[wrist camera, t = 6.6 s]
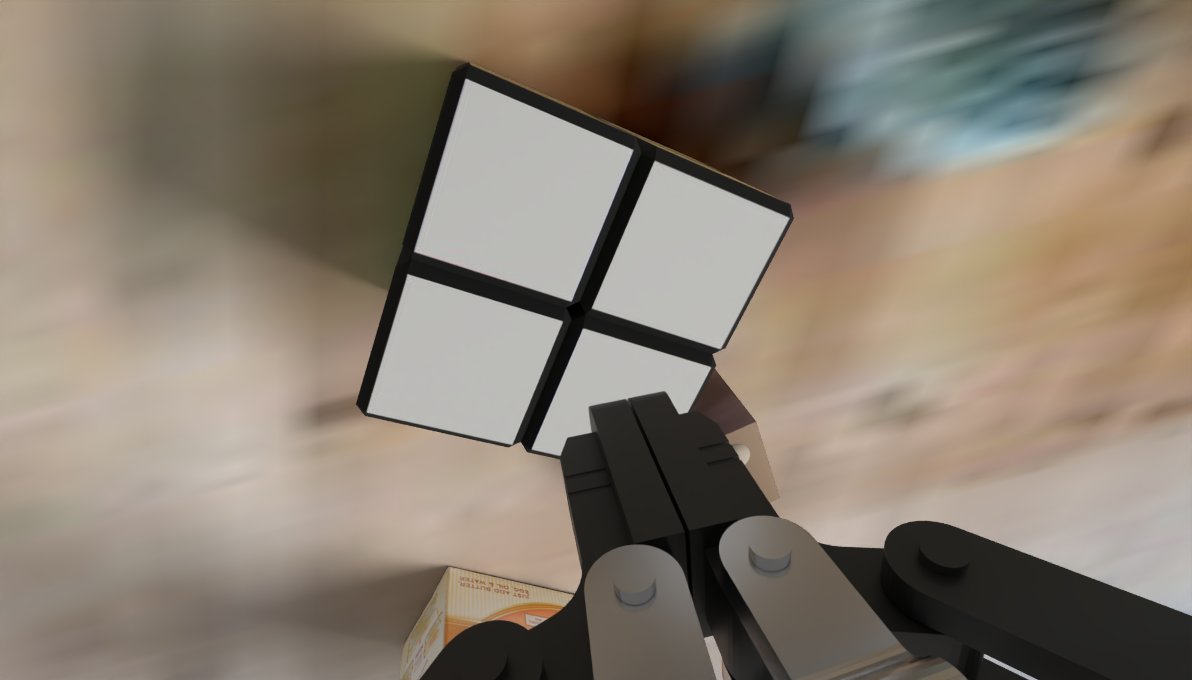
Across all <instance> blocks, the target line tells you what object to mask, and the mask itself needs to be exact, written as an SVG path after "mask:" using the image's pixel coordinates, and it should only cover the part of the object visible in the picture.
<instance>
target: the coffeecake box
mask: <svg viewBox="0 0 1192 680" xmlns="http://www.w3.org/2000/svg"><path fill="white" fill-rule="evenodd" d="M573 596H574V595H572V594H568V593H563V592H559V591H554V590H550V589H546V588H541V587H537V586H532V585H528V584H524V583H519V582H515V581H510V580H506V579H502V578H497V577H493V576H488V575H484V574H479V573H475V572H471V571H466V570H462V569H458V568H454V567H448V568H447V570H446V571H445V573H444V575H443V577H442V579H441V580H440V582H439V584H438V586H437V588H436V590H435V591H434V594H433V596H432V598H431V600H430V601H429V603H428V605H427V606H426V608H425V609H424V611H423V613H422V615H421V616H420V618H419V620H418V621H417V623H416V625H415V626H414V628H413V630H412V632H411V633H410V635H409V637H408V639H407V641H406V642H405V644H404V647H403V652H402V659H401V667H400V675H399V680H419V679H420V678H421V677H422V675H423V674H424V673H425V671H426V670H427V669H428V668H429V666H430V665H431V664H432V662H433V661H434V660H435V658H436V657H437V656H438V654H439V653H440V652H441V651H442V649H443V648H444V647H445V646H446V645H447V644H448V643H449V642H450V641H451V640H452V639H453V638H454V637H455V636H456V635H458V634H459V633H461V632H462V631H464V630H465V629H467V628H469V627H471V626H473V625H476V624H479V623H482V622H486V621H491V620H505V621H511V622H514V623H517V624H519V625H521V626H523V627H525V628H526V629H527V630H529V629H531V628H533V627H534V626H536V625H538V624H540V623H541V622H543V621H545V620H547V619H548V618H550V617H551V616H553V615H554V614H556V613H557V612H559V611H560V610H561V609H562V608H563V607H564V606H566V604H567V603H568V602H569V601H570V600H571V599H572V597H573Z"/></svg>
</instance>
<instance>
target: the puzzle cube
mask: <svg viewBox="0 0 1192 680" xmlns="http://www.w3.org/2000/svg"><path fill="white" fill-rule="evenodd" d="M793 219H794V217H793V213H792V209H791V205H790V204H789V203H786V202H784V201H782V200H780V199H778V198H776V197H773V196H771V195H769V194H767V193H765V192H763V191H760V190H758V189H756V188H754V187H752V186H750V185H747V184H745V183H743V182H741V181H739V180H737V179H734V178H732V177H730V176H728V175H725V174H724V173H723V172H721V171H718V170H716V169H714V168H712V167H710V166H708V165H705V164H703V163H701V162H699V161H697V160H695V159H692V158H690V157H688V156H686V155H684V154H681V153H679V152H677V151H674V150H672V149H670V148H667V147H665V146H663V145H661V144H658V143H656V142H654V141H651V140H649V139H647V138H644V137H642V136H640V135H637V134H635V133H633V132H631V131H628V130H626V129H624V128H621V127H619V126H617V125H614V124H612V123H610V122H607V121H605V120H603V119H601V118H598V117H596V116H594V115H590V114H588V113H586V112H583V111H581V110H579V109H577V108H575V107H573V106H571V105H568V104H566V103H564V102H561V101H559V100H557V99H554V98H552V97H550V96H547V95H545V94H543V93H540V92H538V91H536V90H534V89H531V88H529V87H527V86H524V85H522V84H520V83H517V82H515V81H513V80H510V79H508V78H506V77H504V76H501V75H499V74H497V73H494V72H492V71H490V70H487V69H485V68H483V67H480V66H478V65H476V64H474V63H471V62H468V63H465V64H463V65H461V66H459V67H458V68H457V69H456V70H455V71H454V72H452V75H451V79H450V82H449V85H448V89H447V92H446V96H445V99H444V103H443V106H442V110H441V113H440V116H439V120H438V123H437V127H436V130H435V134H434V137H433V141H432V144H431V147H430V151H429V154H428V158H427V161H426V165H425V168H424V172H423V175H422V178H421V182H420V185H419V189H418V192H417V196H416V199H415V203H414V206H413V209H412V213H411V216H410V220H409V223H408V227H407V230H406V234H405V237H404V241H403V244H402V245H403V249H402V251H401V254H400V257H399V260H398V262H397V265H396V268H395V272H394V275H393V278H392V282H391V285H390V289H389V292H388V296H387V299H386V303H385V306H384V309H383V313H382V316H381V320H380V323H379V327H378V330H377V334H376V337H375V340H374V344H373V347H372V351H371V354H370V358H369V361H368V365H367V368H366V371H365V375H364V378H363V382H362V385H361V389H360V392H359V396H358V399H357V403H356V405H357V406H358V407H359V409H360V410H361V411H362V413H363V414H364V415H365V416H368V417H373V418H377V419H382V420H386V421H391V422H395V423H400V424H404V425H409V426H414V427H418V428H423V429H427V430H432V431H436V432H441V433H445V434H450V435H454V436H459V437H463V438H468V439H472V440H477V441H482V442H486V443H491V444H495V445H500V446H504V447H510V446H512V445H515V444H517V443H519V442H521V443H522V445H523V446H524V448H525V449H526V451H527V452H529V453H534V454H538V455H543V456H547V457H552V458H556V459H560V455H561V453H562V450H563V447H564V445H565V442H566V440H567V438H568V437H573V436H578V435H582V434H587V433H592V432H591V425H590V418H589V406H592V405H597V404H602V403H607V402H612V401H617V400H622V399H626V400H627V399H628V398H631V397H636V396H641V395H646V394H651V393H656V392H661V391H665V392H666V393H667V394H668V396H669V398H670V399H671V401H672V403H673V405H674V406H675V408H676V410H677V412H678V413H679V414H683V413H688V412H692V410H693V408H694V406H695V404H696V402H697V401H698V399H699V397H700V395H701V393H702V391H703V389H704V387H705V385H706V384H707V382H708V380H709V378H710V376H711V374H712V372H713V370H714V368H715V367H716V363H715V361H714V358H713V355H712V354H714V353H716V352H718V351H720V350H722V349H724V348H726V346H727V344H728V342H729V340H730V338H731V336H732V334H733V333H734V331H735V329H736V327H737V325H738V323H739V321H740V319H741V317H742V316H743V314H744V312H745V310H746V308H747V306H748V304H749V302H750V300H751V299H752V297H753V295H754V293H755V291H756V289H757V287H758V285H759V283H760V282H761V280H762V278H763V276H764V274H765V272H766V270H767V268H768V266H769V264H770V263H771V261H772V259H773V257H774V255H775V253H776V251H777V249H778V247H779V246H780V244H781V242H782V240H783V238H784V236H785V234H786V232H787V230H788V229H789V227H790V225H791V223H792V221H793Z"/></svg>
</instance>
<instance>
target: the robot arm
mask: <svg viewBox="0 0 1192 680" xmlns="http://www.w3.org/2000/svg"><path fill="white" fill-rule="evenodd" d="M589 418H590V425H591V432H592V433H587V434H582V435H578V436H573V437H568V438H567V440H566V442H565V445H564V447H563V450H562V453H561V455H560V461H561V466H562V472H563V477H564V483H565V488H566V494H567V500H568V505H569V511H570V516H571V521H572V526H573V531H574V536H575V540H576V546H577V550H578V555H579V560H580V565H581V570H582V578H581V581H580V584H579V587H578V589H577V591H576V593H575V594H574V596H573V597H572V599H571V600H570V601H569V602H568V603H567V604H566V606H564V607H563V608H562V609H561V610H560V611H559V612H557V613H556V614H554V615H553V616H551V617H550V618H548V619H547V620H545V621H543V622H541V623H540V624H538V625H536V626H534V627H533V628H531V629H529V630H527V629H526V628H525V627H523V626H521V625H519V624H517V623H514V622H511V621H505V620H491V621H486V622H482V623H479V624H476V625H473V626H471V627H469V628H467V629H465V630H464V631H462V632H461V633H459V634H458V635H456V636H455V637H454V638H453V639H452V640H451V641H450V642H449V643H448V644H447V645H446V646H445V647H444V648H443V649H442V651H441V652H440V653H439V654H438V656H437V657H436V658H435V660H434V661H433V662H432V664H431V665H430V666H429V668H428V669H427V670H426V671H425V673H424V674H423V675H422V677H421V678H420V679H419V680H717V679H716V676H715V673H714V670H713V666H712V663H711V660H710V656H709V653H708V650H707V647H706V643H705V640H704V638H705V637H709V636H714V639H715V641H716V644H717V646H718V648H719V651H720V653H721V656H722V676H723V680H1028V679H1026V678H1024V677H1022V676H1020V675H1018V674H1016V673H1014V672H1012V671H1009V670H1007V669H1005V668H1003V667H1001V666H999V665H997V664H995V663H993V662H991V661H989V660H987V659H985V658H983V657H984V654H986V655H988V656H990V657H992V658H994V659H996V660H998V661H1000V662H1002V663H1005V664H1007V665H1009V666H1011V667H1013V668H1015V669H1017V670H1019V671H1021V672H1023V673H1025V674H1027V675H1029V676H1031V677H1033V678H1036V679H1038V680H1192V616H1190V615H1188V614H1185V613H1182V612H1180V611H1177V610H1174V609H1172V608H1169V607H1167V606H1164V605H1161V604H1159V603H1156V602H1153V601H1151V600H1148V599H1145V598H1143V597H1140V596H1137V595H1135V594H1132V593H1129V592H1127V591H1124V590H1121V589H1119V588H1116V587H1113V586H1111V585H1108V584H1105V583H1103V582H1100V581H1097V580H1095V579H1092V578H1090V577H1087V576H1084V575H1082V574H1079V573H1076V572H1074V571H1071V570H1068V569H1066V568H1063V567H1060V566H1058V565H1055V564H1052V563H1050V562H1047V561H1044V560H1042V559H1039V558H1036V557H1034V556H1031V555H1028V554H1026V553H1023V552H1021V551H1018V550H1015V549H1013V548H1010V547H1007V546H1005V545H1002V544H999V543H997V542H994V541H991V540H989V539H986V538H983V537H981V536H978V535H975V534H973V533H970V532H967V531H965V530H962V529H959V528H957V527H954V526H951V525H948V524H944V523H939V522H932V521H914V522H908V523H905V524H902V525H900V526H898V527H896V528H894V529H893V530H892V531H891V532H890V533H889V535H888V536H887V538H886V541H885V544H884V549H883V548H859V547H839V546H831V545H826V544H821V543H818V542H817V541H816V540H815V539H814V538H813V537H812V536H811V535H810V533H809V532H807V531H806V530H805V529H803V528H802V527H801V526H799V525H797V524H795V523H793V522H791V521H789V520H786V519H782V518H780V517H779V516H778V515H777V513H776V512H775V510H774V509H773V507H772V506H771V504H770V503H769V501H768V500H767V498H766V496H765V495H764V493H763V492H762V490H761V489H760V487H759V486H758V484H757V483H756V481H755V480H754V478H753V477H752V475H751V474H750V472H749V471H748V469H747V468H746V466H745V465H744V463H743V462H742V460H740V459H739V456H738V454H737V452H736V451H735V449H734V448H733V446H732V445H730V444H729V440H728V439H727V437H726V436H725V434H724V433H723V431H722V430H721V428H720V427H719V425H718V424H717V423H716V422H714V421H713V420H711V419H709V418H708V417H706V416H705V415H703V414H702V413H700V412H698V411H693V412H688V413H683V414H679V413H678V412H677V410H676V408H675V406H674V405H673V403H672V401H671V399H670V398H669V396H668V394H667V393H666V392H665V391H661V392H656V393H651V394H646V395H641V396H636V397H631V398H628V399H627V400H626V399H622V400H617V401H612V402H607V403H602V404H597V405H592V406H589Z"/></svg>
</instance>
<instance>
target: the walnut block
mask: <svg viewBox="0 0 1192 680" xmlns="http://www.w3.org/2000/svg"><path fill="white" fill-rule="evenodd" d="M693 411H698V412H700V413H702V414H703V415H705V416H706V417H708V418H709V419H711V420H713V421H714V422H716V423H717V424H718V425H719V427H720V428H721V430H722V431H723V433H724V434H725V436H726V437H727V439H728V440H729V444H730V445H732V446H733V448H734V449H735V451H736V452H737V454H738V456H739V459H740V460H742V462H743V463H744V465H745V466H746V468H747V469H748V471H749V472H750V474H751V475H752V477H753V478H754V480H755V481H756V483H757V484H758V486H759V487H760V489H761V490H762V492H763V493H764V495H765V496H766V498H767V500H768V501H769V503H770V502H772V501H774V500H777V499H779V498H780V496H779V493H778V490H777V487H776V484H775V480H774V477H773V474H772V471H771V468H770V465H769V461H768V458H767V455H766V452H765V449H764V445H763V442H762V439H761V436H760V433H759V430H758V426H757V423H756V421H755V420H754V418H753V417H752V416H751V415H750V413H749V412H748V411H747V409H746V408H745V407H744V406H743V404H742V403H741V402H740V400H739V399H738V398H737V397H736V395H735V394H734V393H733V391H732V390H731V389H730V388H729V386H728V385H727V384H726V383H725V381H724V380H723V379H722V377H721V376H720V375H719V374H718V372H717V371H716V370H715V369H714V370H713V372H712V374H711V376H710V378H709V380H708V382H707V384H706V385H705V387H704V389H703V391H702V393H701V395H700V397H699V399H698V401H697V402H696V404H695V406H694V408H693V410H692V412H693Z"/></svg>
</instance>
